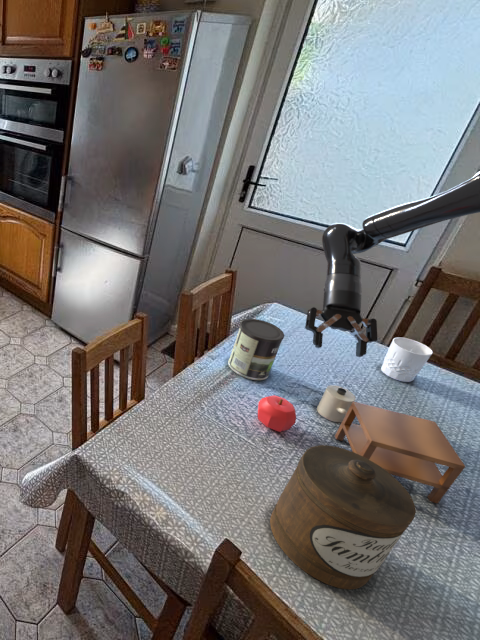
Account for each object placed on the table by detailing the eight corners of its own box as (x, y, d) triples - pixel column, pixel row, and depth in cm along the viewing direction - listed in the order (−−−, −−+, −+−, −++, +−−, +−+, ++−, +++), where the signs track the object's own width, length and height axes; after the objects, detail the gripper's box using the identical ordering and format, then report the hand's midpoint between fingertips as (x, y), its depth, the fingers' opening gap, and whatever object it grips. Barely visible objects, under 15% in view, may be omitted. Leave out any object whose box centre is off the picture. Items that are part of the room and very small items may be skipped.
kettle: (314, 402, 108) (325, 379, 105) (340, 409, 106) (353, 386, 103) (322, 424, 102) (334, 400, 98) (350, 432, 100) (364, 408, 96)
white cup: (380, 376, 117) (395, 348, 112) (375, 361, 123) (390, 334, 118) (418, 387, 113) (436, 359, 108) (412, 371, 118) (428, 343, 114)
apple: (260, 406, 107) (270, 383, 104) (296, 426, 102) (307, 402, 98) (247, 420, 103) (256, 396, 100) (283, 442, 97) (294, 417, 94)
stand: (411, 457, 93) (435, 421, 88) (437, 503, 84) (465, 466, 79) (334, 435, 99) (352, 401, 94) (350, 477, 89) (371, 440, 84)
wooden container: (314, 595, 70) (367, 514, 60) (251, 509, 83) (287, 432, 73) (393, 585, 71) (458, 504, 61) (319, 502, 84) (362, 425, 75)
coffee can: (271, 367, 121) (287, 327, 115) (264, 386, 114) (281, 345, 108) (232, 352, 127) (245, 314, 121) (223, 369, 120) (236, 329, 114)
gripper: (315, 283, 111) (311, 342, 106) (384, 295, 105) (382, 357, 101) (304, 291, 117) (299, 346, 113) (368, 303, 112) (366, 361, 107)
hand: (338, 351), depth 107 cm, fingers open, 8 cm apart
